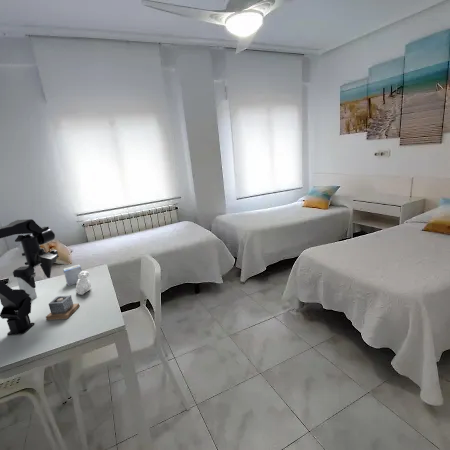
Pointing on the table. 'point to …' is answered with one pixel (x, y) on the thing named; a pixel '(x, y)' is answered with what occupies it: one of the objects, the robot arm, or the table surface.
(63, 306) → the grey square sleeve
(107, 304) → the table surface
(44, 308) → the table surface
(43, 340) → the table surface
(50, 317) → the post stand
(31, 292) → the skincare box
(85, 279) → the bust
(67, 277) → the medicine box
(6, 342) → the table surface
